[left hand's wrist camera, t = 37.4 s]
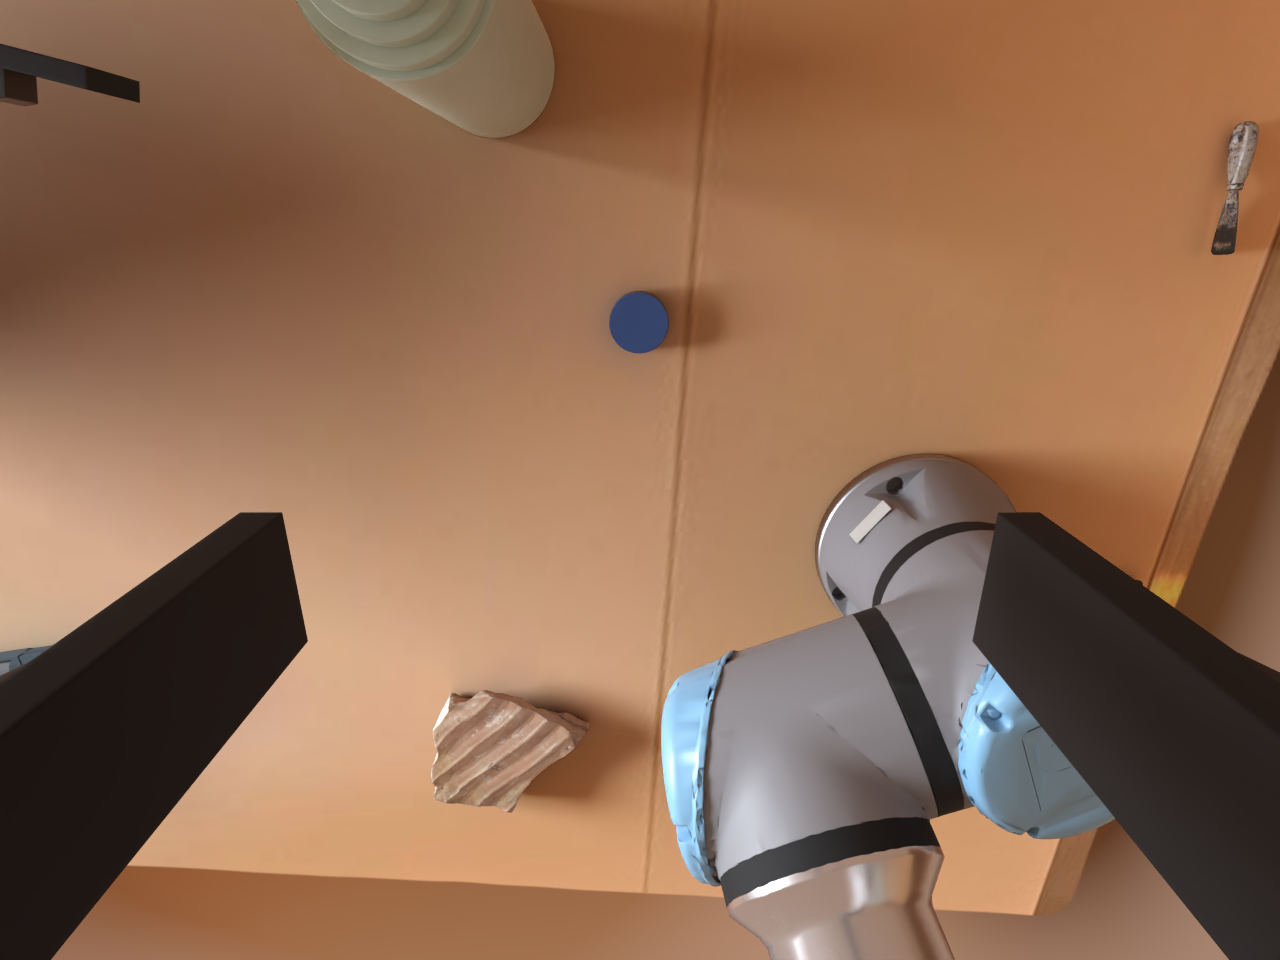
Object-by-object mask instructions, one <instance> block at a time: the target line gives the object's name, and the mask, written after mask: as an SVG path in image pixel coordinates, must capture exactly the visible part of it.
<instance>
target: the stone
mask: <svg viewBox="0 0 1280 960" xmlns="http://www.w3.org/2000/svg"><path fill="white" fill-rule="evenodd" d="M589 726H590V724H589V722H587V721H583V720H581V719H578V718H576V717H575V716H573V715H572V714H569V713H567V712H562V713H556V712H553V711H550V710H546V709H543V708H535V707H534V706H533V705H531V704H529V703H527V702H526V701H524V700H522V699H521V698H518V697H512V696H509V695H506V694H498V693H493V692H490V691H487V690H485V691H481V692H479V693H477V694H476V695H475V696H474V697H473V698H472V699H470V698H462V697H461V696H459V695H457V694H455V693H451V694H450V696H449V698H448V700H447V703H446V704H445V706H444V708H443V710H442V712H441V714H440V716H439V718H438V720H437V723H436V725H435V727H434V728H433V738H434V742H435V747H436V749H437V752H438V753H437V755H436V757H435V761H434V764H433V767H432V772H431V778H432V783H433V784H434V785H435V793H434V795H433V798H434V799H436V800H438V801H441V802H444V803H460V804H465V805H471V806H479V807H480V806H495V807H497V808H499V809H502V810H504V811H505V812H512V811H513V810H514V809H515V807H516V804H517V801H518V798H519V797H520V795H521V794H522V793H523V791H524V790H525V789H526V788H527V787H528V785H529V784H530V782H531V781H532V780H533V779H534V778H535V777H536V776H537V775H538V774H539V773H541V772H542V771H543V770H544V769H545V768H547V767H548V766H549V765H551V764H552V763H553V762H555V761H557V760H559V759H560V758H563V757H565V756H566V755H567V754H568V753H569V752H570V751H572V750H573V749H574V748H575V747H576V746H577V745H578V742H579V741H580V740H582V739H583V738H584V737H585V735H586V732H587V731H588V729H589Z"/></svg>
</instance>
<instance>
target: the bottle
mask: <svg viewBox="0 0 1280 960" xmlns="http://www.w3.org/2000/svg"><path fill="white" fill-rule="evenodd" d="M296 2H297V4H298V6H299V8H300V10H301V12H302V14H303V15H304V17H305V19H306V20H307V22H308V24H309V25H310V27H311V28H312V29H313V31H314V32H315V33H316V35H317V36H318V37H319V38H320V39H321V40H322V42H323V43H324V44H325V45H326V46H327V47H328V48H329V49H330V50H331V51H332V52H334V53H335V54H336V55H337V56H338V57H340V58H341V59H342V60H344V61H345V62H347V63H348V64H350V65H351V66H353V67H354V68H356V69H358V70H360V71H361V72H363V73H365V74H367V75H368V76H370V77H372V78H374V79H376V80H377V81H379V82H381V83H383V84H384V85H386V86H388V87H390V88H391V89H393V90H395V91H397V92H398V93H400V94H402V95H404V96H406V97H407V98H409V99H411V100H413V101H414V102H416V103H418V104H420V105H421V106H423V107H425V108H427V109H428V110H430V111H432V112H434V113H436V114H437V115H439V116H441V117H443V118H444V119H446V120H448V121H450V122H451V123H453V124H455V125H457V126H459V127H460V128H462V129H464V130H466V131H468V132H470V133H472V134H475V135H478V136H482V137H487V138H501V137H507V136H511V135H514V134H516V133H518V132H521V131H522V130H524V129H525V128H527V127H528V126H530V125H531V124H532V123H533V122H534V121H535V120H536V119H537V118H538V117H539V116H540V114H541V113H542V111H543V110H544V108H545V106H546V104H547V102H548V100H549V98H550V95H551V92H552V88H553V83H554V75H555V62H554V54H553V50H552V45H551V42H550V39H549V37H548V34H547V32H546V30H545V28H544V25H543V23H542V21H541V19H540V17H539V15H538V13H537V11H536V9H535V6H534V4H533V2H532V0H296Z"/></svg>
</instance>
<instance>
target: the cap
mask: <svg viewBox="0 0 1280 960" xmlns="http://www.w3.org/2000/svg"><path fill="white" fill-rule="evenodd" d="M609 326H610V331H611V334H612V337H613V338H614V340H615V341H616V343H617V344H618V345H619V346H620V347H622V348H623V349H625V350H627V351H629V352H633V353H645V352H649V351H651V350H653V349H655V348H656V347H658V346H659V345H660V344H661V343H662V341H663V340H664V338H665V336H666V334H667V331H668V315H667V312H666V309H665V307H664V305H663V304H662V302H661V301H660V300H659V299H658V298H657V297H655V296H654V295H652V294H650V293H647V292H642V291H635V292H631V293H628V294H626V295H624V296H623V297H621V298H620V299H619V300H618V301H617V302H616V304H615V305H614V307H613V309H612V312H611V315H610V321H609Z"/></svg>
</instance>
